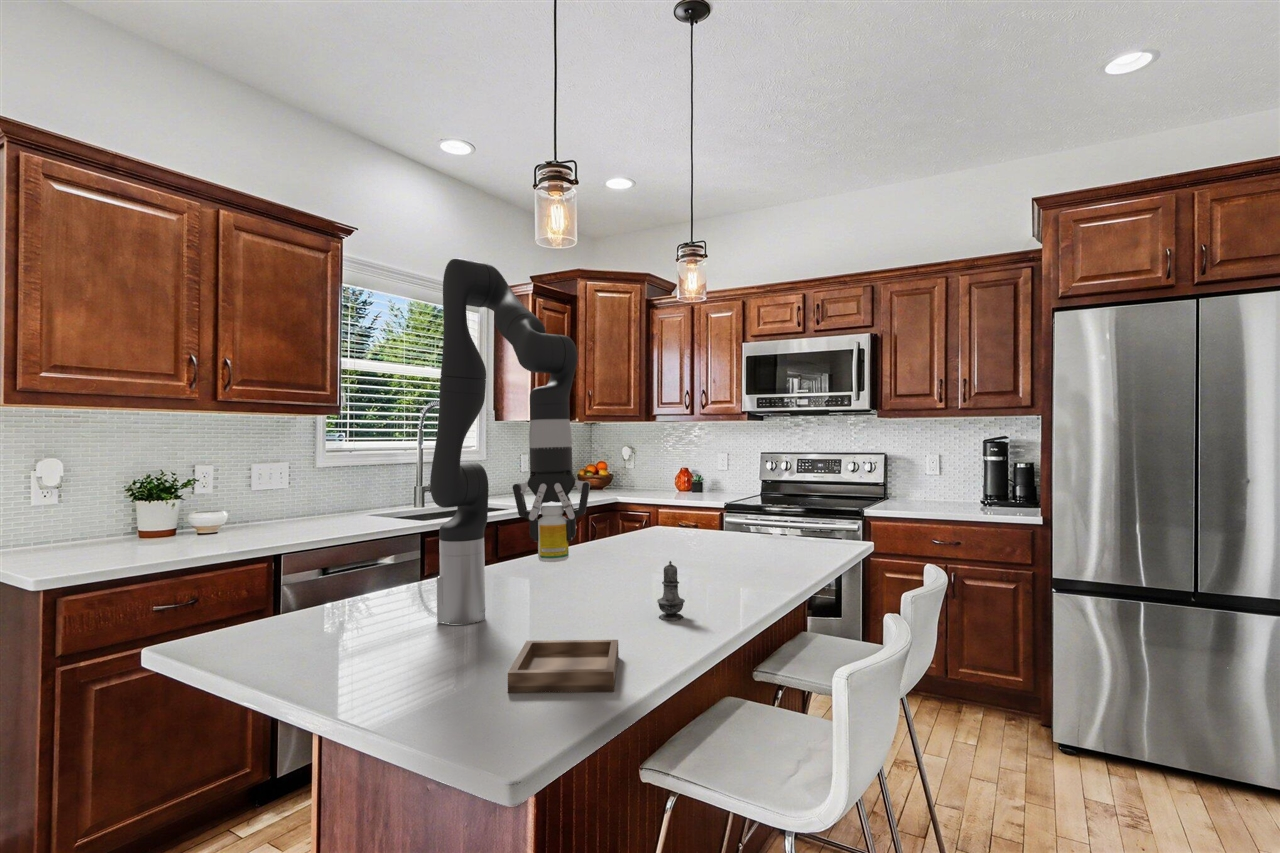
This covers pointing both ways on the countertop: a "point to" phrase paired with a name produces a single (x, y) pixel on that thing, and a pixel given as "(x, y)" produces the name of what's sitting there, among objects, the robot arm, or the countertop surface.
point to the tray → (564, 666)
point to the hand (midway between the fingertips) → (553, 540)
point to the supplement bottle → (552, 534)
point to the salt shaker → (670, 595)
